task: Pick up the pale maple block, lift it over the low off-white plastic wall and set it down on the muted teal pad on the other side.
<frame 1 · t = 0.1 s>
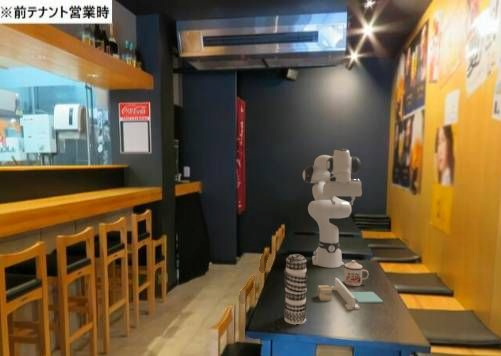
hand: (342, 205, 177), 39 cm above the table, tool pointing down, fingers open, 8 cm apart
teacup with lid: (355, 283, 170), on the table
divider wall: (344, 297, 151), on the table
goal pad: (365, 297, 152), on the table
decorative candle: (295, 319, 130), on the table
maple block: (324, 298, 151), on the table
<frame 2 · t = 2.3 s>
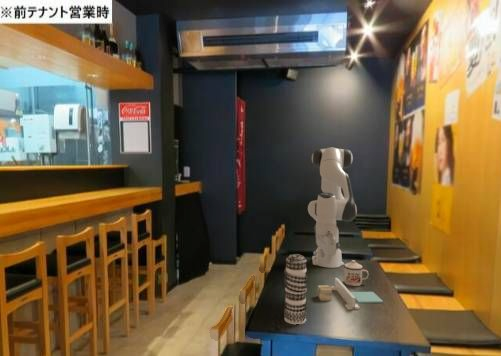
hand: (325, 260, 150), 17 cm above the table, tool pointing down, fingers open, 8 cm apart
nothing on the table moved.
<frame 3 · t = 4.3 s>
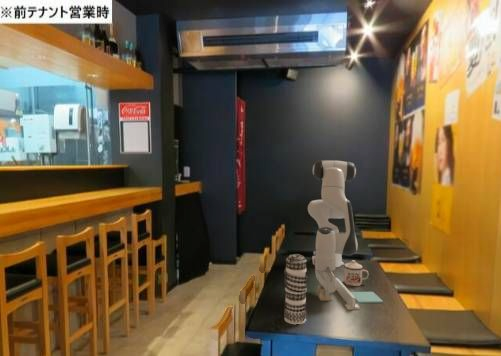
hand: (324, 294, 151), 2 cm above the table, tool pointing down, fingers closed on maple block, 5 cm apart
maple block: (324, 298, 151), on the table, touching gripper
everything else where it was.
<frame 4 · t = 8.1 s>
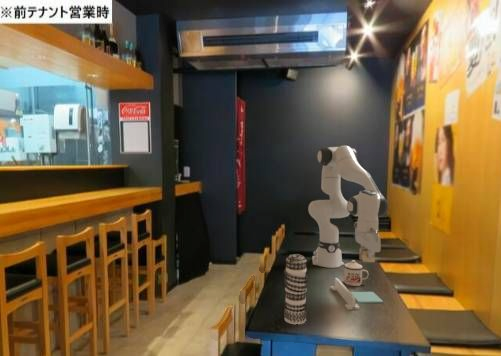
hand: (367, 256, 151), 19 cm above the table, tool pointing down, fingers closed on maple block, 5 cm apart
maple block: (366, 260, 151), point 17 cm above the table, touching gripper
everything else where it was.
when the fingers open (4 cm above the table, at t = 11.6 s): maple block drops 1 cm, resting on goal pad.
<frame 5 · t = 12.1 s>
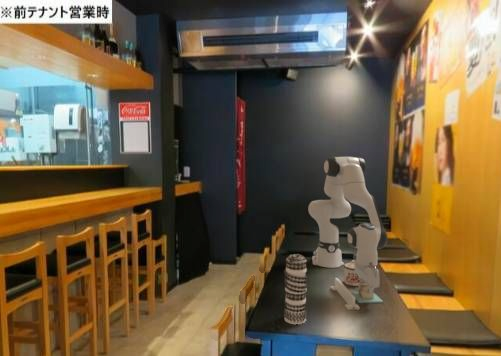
hand: (366, 289, 152), 4 cm above the table, tool pointing down, fingers open, 8 cm apart
maple block: (365, 296, 152), point 1 cm above the table, touching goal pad
everything else where it was.
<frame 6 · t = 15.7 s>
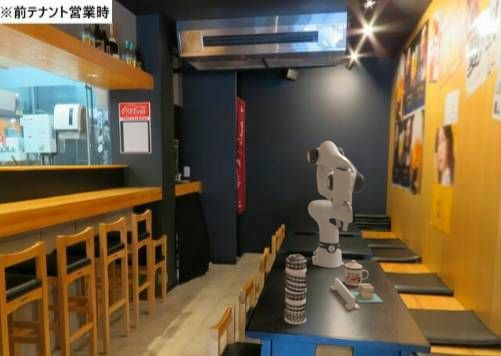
hand: (341, 228, 162), 29 cm above the table, tool pointing down, fingers open, 8 cm apart
nothing on the table moved.
at the end: maple block 0.1 cm off-centre on the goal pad, point 0.6 cm above the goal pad's base; maple block tilted 0°; the gripper is holding nothing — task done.
